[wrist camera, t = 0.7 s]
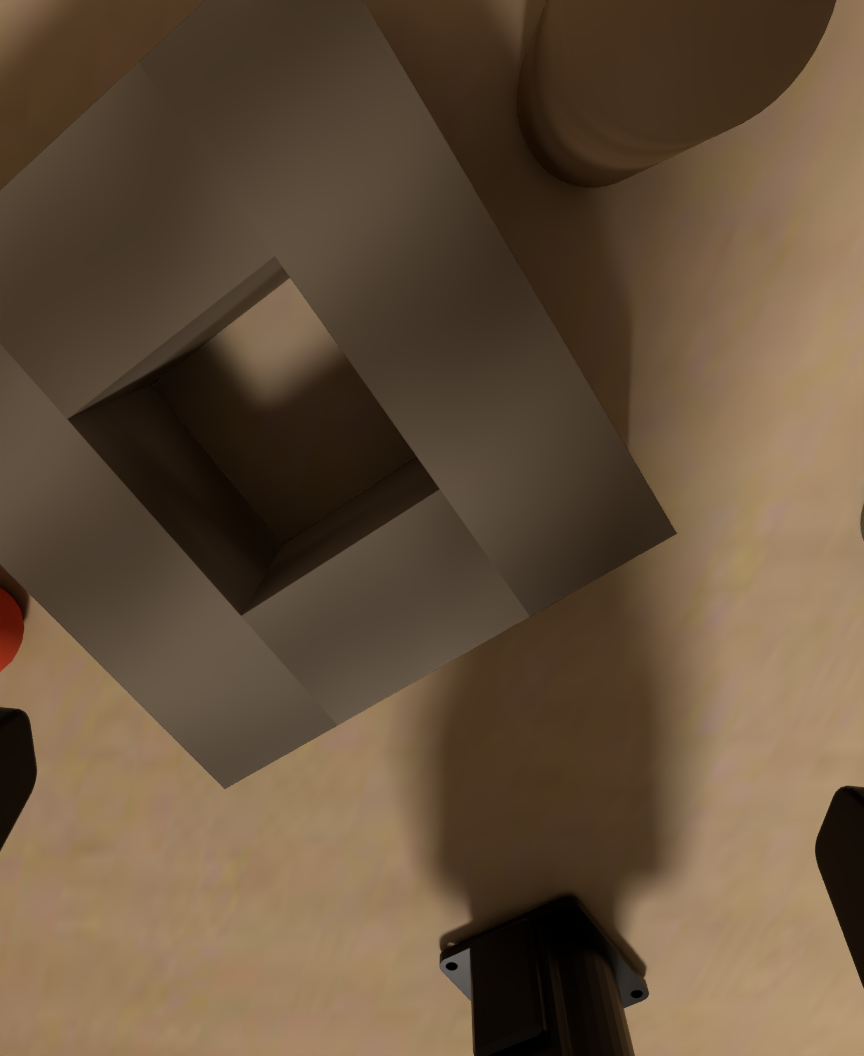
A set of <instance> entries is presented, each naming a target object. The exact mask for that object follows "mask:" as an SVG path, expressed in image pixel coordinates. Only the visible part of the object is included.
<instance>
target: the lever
mask: <svg viewBox="0 0 864 1056" xmlns="http://www.w3.org/2000/svg"><path fill="white" fill-rule="evenodd" d="M23 633H24V623H23V618H22V615H21V611H20V608H19V606H18V605H17V603H16V602H15V600H14V599H13V598H12V597H11V596H10V595H9V594H8V593H7V592H6V591H5V590H3V589H2V588H0V672H1V671H2V670H3V669H4V668H5V667H6V666H7V665H8V664H9V663H10V662H11V661H12V660H13V658H14V657H15V655H16V653H17V652H18V650H19V647H20V645H21V643H22V639H23Z"/></svg>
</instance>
